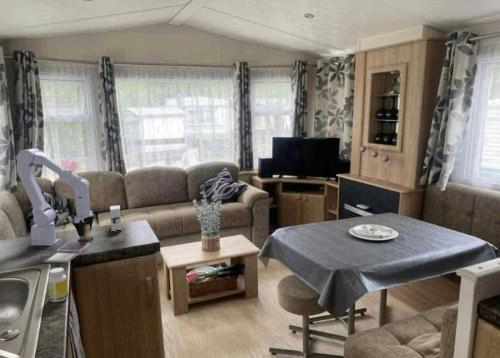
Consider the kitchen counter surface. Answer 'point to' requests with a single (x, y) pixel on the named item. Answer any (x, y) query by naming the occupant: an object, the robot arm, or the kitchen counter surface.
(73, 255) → the marked square
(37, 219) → the robot arm
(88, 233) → the stamp
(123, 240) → the kitchen counter surface
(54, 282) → the supplement bottle
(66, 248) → the ink pad
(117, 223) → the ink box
